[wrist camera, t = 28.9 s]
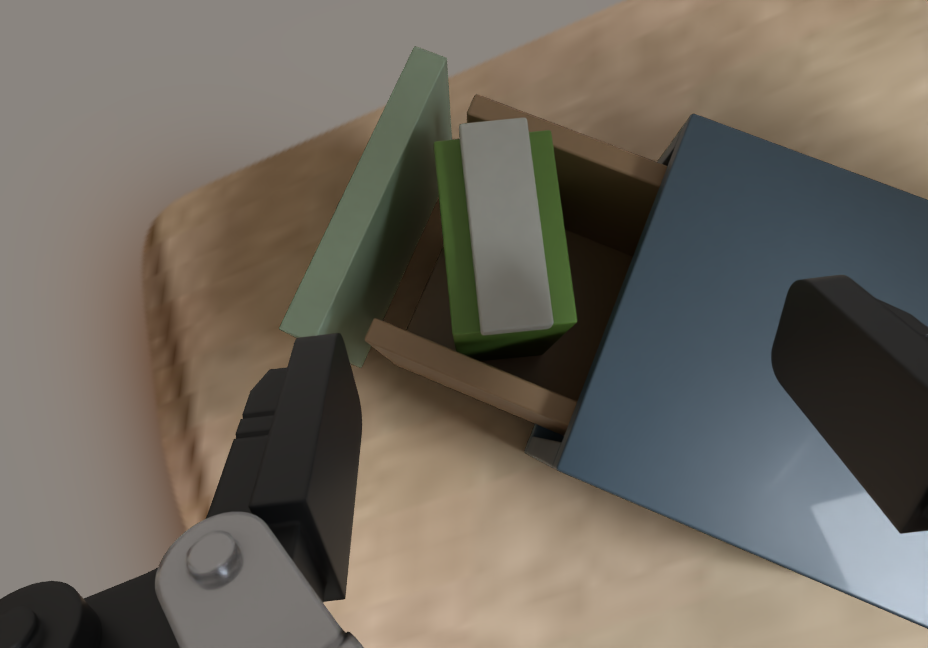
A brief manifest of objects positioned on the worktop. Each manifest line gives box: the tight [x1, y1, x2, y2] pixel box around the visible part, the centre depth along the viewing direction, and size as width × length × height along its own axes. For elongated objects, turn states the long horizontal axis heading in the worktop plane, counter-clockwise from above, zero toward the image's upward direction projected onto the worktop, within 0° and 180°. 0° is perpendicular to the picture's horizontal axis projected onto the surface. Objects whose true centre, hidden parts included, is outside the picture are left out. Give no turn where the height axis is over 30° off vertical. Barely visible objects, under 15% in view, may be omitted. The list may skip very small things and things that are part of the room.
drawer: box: [279, 46, 667, 436], centre depth 22 cm, size 14×10×8 cm
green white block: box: [434, 118, 577, 361], centre depth 20 cm, size 4×6×8 cm, turn 6°
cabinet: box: [525, 114, 928, 629], centre depth 21 cm, size 14×12×10 cm
